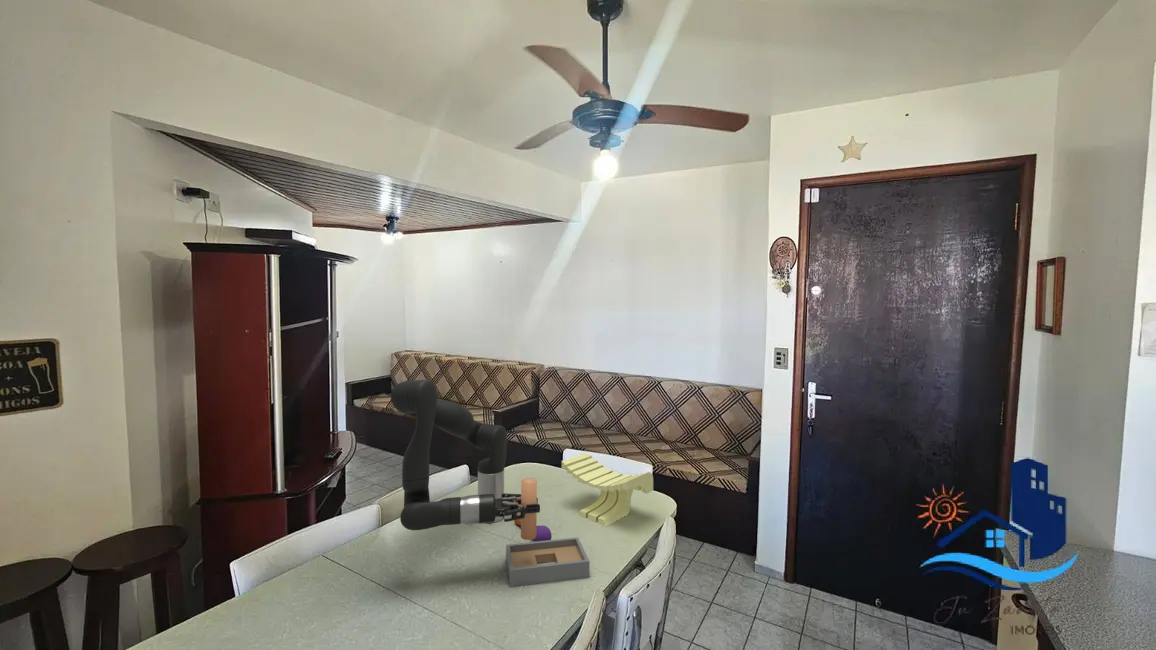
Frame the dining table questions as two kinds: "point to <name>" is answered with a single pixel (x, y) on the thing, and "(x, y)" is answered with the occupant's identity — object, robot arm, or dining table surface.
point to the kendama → (539, 532)
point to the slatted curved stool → (607, 488)
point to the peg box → (562, 551)
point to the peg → (526, 499)
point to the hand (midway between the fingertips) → (538, 504)
